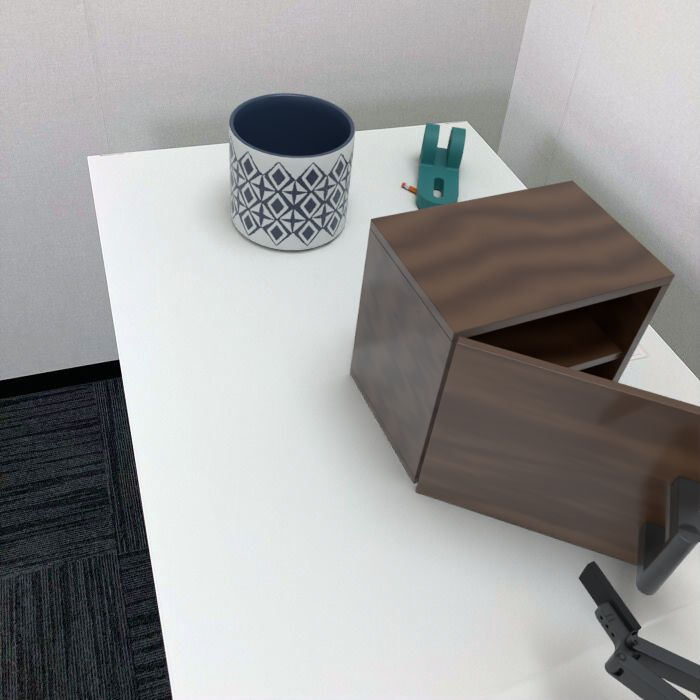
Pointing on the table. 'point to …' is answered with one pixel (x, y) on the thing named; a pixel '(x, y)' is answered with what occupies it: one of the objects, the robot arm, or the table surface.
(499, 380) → the door
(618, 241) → the cupboard
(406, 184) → the pencil
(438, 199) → the bracket
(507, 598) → the table surface
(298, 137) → the planter
